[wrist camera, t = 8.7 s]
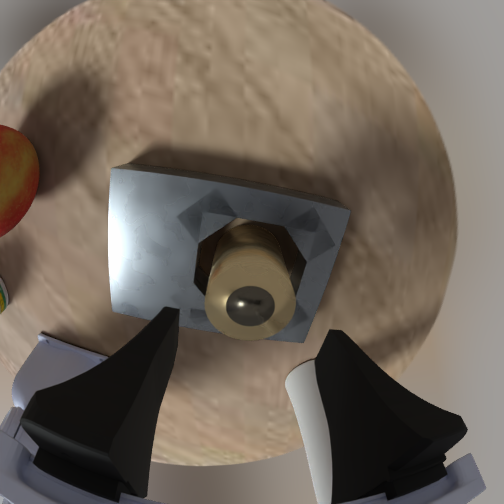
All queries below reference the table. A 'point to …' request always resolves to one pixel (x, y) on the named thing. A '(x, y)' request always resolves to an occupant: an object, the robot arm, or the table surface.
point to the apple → (16, 177)
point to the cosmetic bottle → (312, 427)
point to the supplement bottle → (3, 296)
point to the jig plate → (200, 227)
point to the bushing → (249, 285)
